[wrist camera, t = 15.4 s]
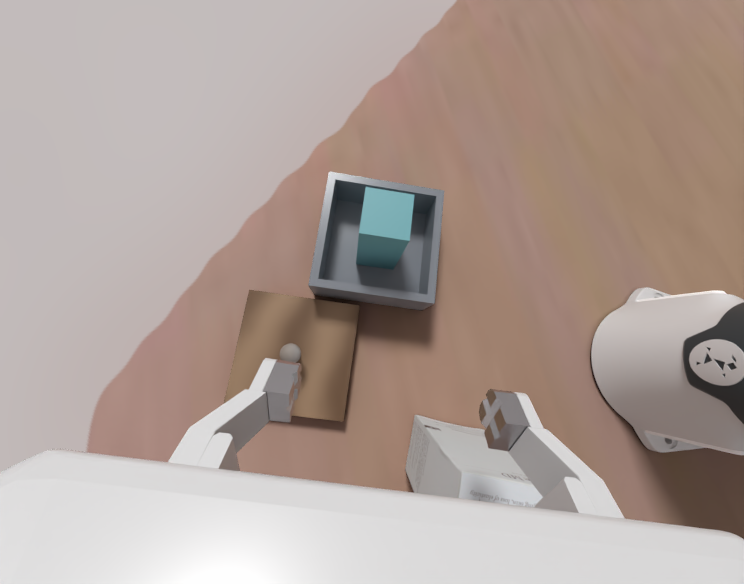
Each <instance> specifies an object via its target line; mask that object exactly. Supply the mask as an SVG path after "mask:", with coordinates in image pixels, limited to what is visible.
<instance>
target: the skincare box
mask: <svg viewBox="0 0 744 584" xmlns="http://www.w3.org/2000/svg"><path fill="white" fill-rule="evenodd" d="M484 432H485V430H483V429H478V428H470V427H464V426H459V425H454V424H450V423H446V422H442V421H438V420H434V419H430V418H427V417H424V416H420V415H415V417H414V423H413V429H412V435H411V440H410V446H409V451H408V457H407V462H406V468H405V470H406V473H407V475H408V478H409V480H410V483H411V486H412V488H413V491H414V493H421V494H429V495H437V496H445V497H453V498H461V499H469V500H477V501H485V502H493V503H501V504H509V505H518V506H526V507H534V506H535V505H536V504H537V503H538V502H539V501H540V500H541V499H542V498H543V497H542V495H541V494H540V493H539V492H538V490H537V489H536V488H535V486H534V485H533V484H532V482H531V481H530V480H529V479H528V477H527V476H526V475H525V473H524V472H523V471H522V470H521V468H520V467H519V466H518V464H517V463H516V462H515V461H514V459H513V458H512V457H511V455H510V454H509V453H508V452H509V451H503V450H496V449H490V448H488V444H487V441H486V438H485V434H484Z"/></svg>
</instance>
